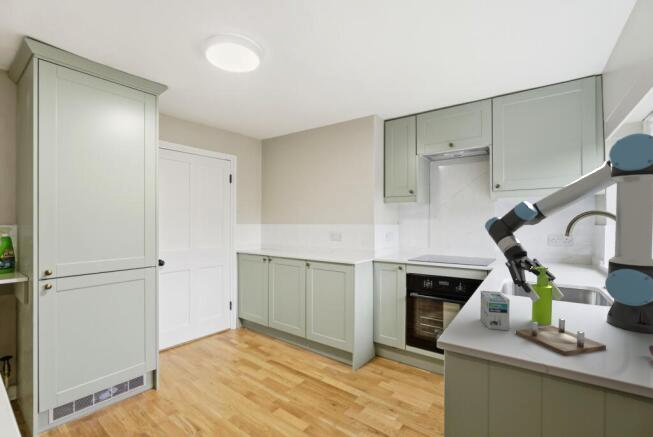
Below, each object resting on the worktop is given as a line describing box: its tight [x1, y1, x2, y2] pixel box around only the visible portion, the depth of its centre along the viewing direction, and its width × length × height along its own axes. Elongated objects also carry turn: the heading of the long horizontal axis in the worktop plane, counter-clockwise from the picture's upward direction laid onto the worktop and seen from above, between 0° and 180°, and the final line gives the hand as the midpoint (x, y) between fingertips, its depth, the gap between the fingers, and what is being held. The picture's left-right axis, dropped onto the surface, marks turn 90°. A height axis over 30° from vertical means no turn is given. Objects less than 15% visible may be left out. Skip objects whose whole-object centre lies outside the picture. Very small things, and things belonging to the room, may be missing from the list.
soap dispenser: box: [531, 266, 553, 325], centre depth 114 cm, size 6×7×20 cm
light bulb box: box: [479, 290, 511, 331], centre depth 111 cm, size 11×7×11 cm, turn 168°
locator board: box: [515, 318, 607, 357], centre depth 97 cm, size 16×16×5 cm
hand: (548, 299), depth 111 cm, fingers open, 10 cm apart
